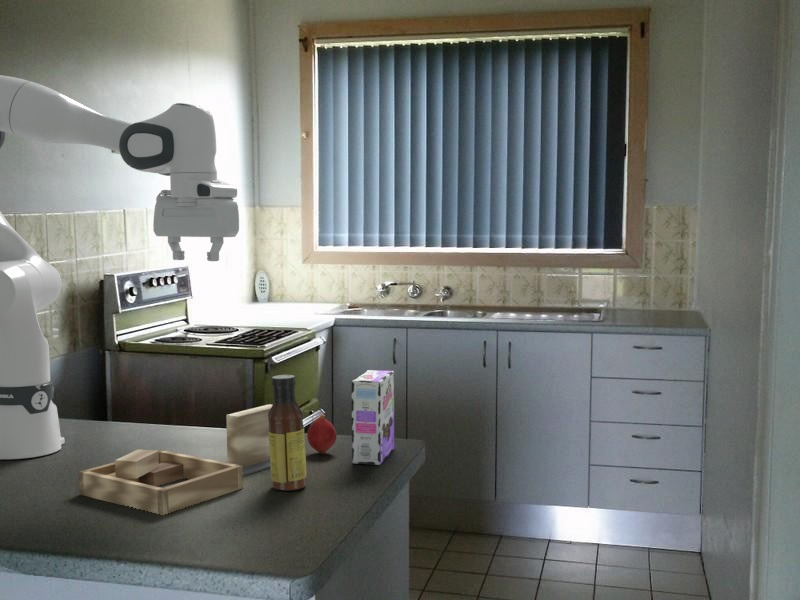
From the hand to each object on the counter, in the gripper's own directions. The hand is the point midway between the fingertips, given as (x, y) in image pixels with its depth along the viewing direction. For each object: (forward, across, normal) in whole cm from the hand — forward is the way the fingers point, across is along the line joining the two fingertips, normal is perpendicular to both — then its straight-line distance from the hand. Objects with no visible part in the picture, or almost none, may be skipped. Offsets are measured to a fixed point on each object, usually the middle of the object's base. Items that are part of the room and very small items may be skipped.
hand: (195, 260), depth 187 cm
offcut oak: (+40, +4, -24) cm, 47 cm away
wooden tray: (+39, +11, -20) cm, 45 cm away
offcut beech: (+36, +5, -20) cm, 42 cm away
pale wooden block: (+39, +12, +3) cm, 41 cm away
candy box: (+39, +28, +20) cm, 52 cm away
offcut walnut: (+40, +6, -16) cm, 43 cm away
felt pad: (+39, +12, +3) cm, 41 cm away
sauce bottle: (+39, +28, -6) cm, 49 cm away
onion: (+39, +18, +16) cm, 46 cm away
